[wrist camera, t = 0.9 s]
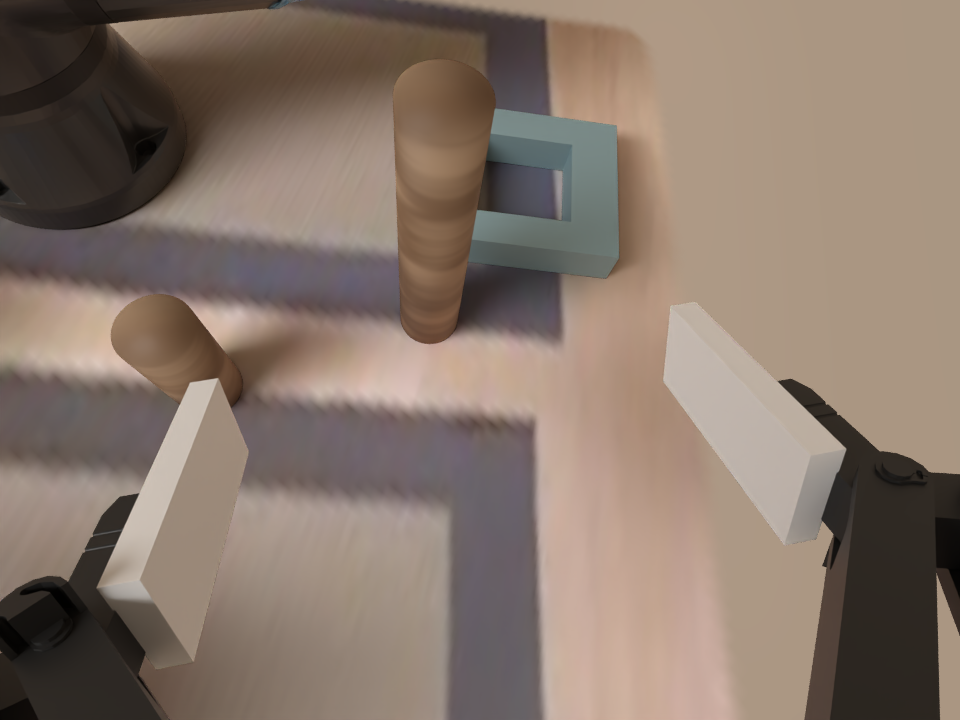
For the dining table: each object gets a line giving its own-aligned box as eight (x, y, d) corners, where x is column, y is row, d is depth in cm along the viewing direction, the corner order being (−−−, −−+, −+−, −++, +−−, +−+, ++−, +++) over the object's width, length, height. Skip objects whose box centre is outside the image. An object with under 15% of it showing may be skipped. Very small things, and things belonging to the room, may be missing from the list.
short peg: (169, 371, 38) (101, 310, 30) (231, 349, 39) (182, 283, 31) (187, 426, 37) (122, 378, 28) (251, 401, 38) (206, 348, 29)
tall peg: (391, 304, 41) (376, 73, 23) (443, 285, 42) (468, 49, 24) (414, 352, 40) (418, 150, 22) (466, 331, 41) (513, 121, 23)
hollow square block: (605, 278, 44) (619, 257, 41) (420, 256, 43) (421, 233, 40) (604, 152, 49) (616, 125, 46) (436, 128, 47) (438, 100, 45)
